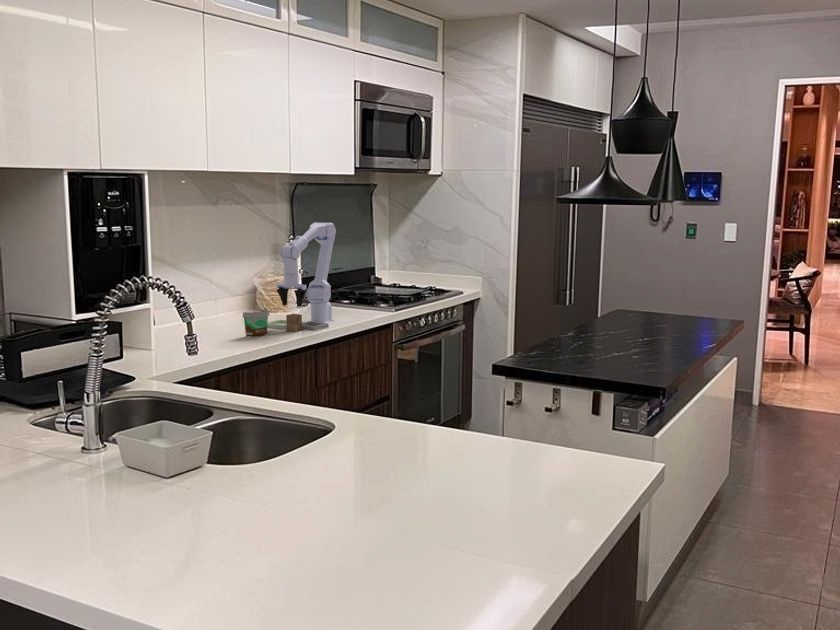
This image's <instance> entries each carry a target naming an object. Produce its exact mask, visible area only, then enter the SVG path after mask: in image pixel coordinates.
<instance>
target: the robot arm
mask: <svg viewBox="0 0 840 630" xmlns="http://www.w3.org/2000/svg"><path fill="white" fill-rule="evenodd" d="M336 233H337V229H336V227H335V224H334V223H332V222H316V221H315V222H313V223H312V224H310V226H309V229H308V230H307V231H305V232H304V234H303V235H296V236H295V238H294V240H292V241H290V242H289V243H288V245H287V244H286V245H283V246H282V247H281V249H280V252H279V255H280V258H281V261H282V263H283V282H278V283H276V292H277V294H278V295H279V297H280V301H281V304H282V306H288V294H289V289H290V290H294V291H293V292H294V295H295V299H296V307H298V308H299V307H302V304H303V299H304V297H306V299H307V300H308V302H309V303H310V320H307V321H306V322H321V323H328V322H334V319H333V309H332V304H331V302H329V301H330V299H331V296H332V292H331V291H332V290H331V288H332V286H331V284H330V283H329V282H328V274H329V270H330V263H331V258H332V253H333V247H334V246H333V245H334V243H335V239H336ZM313 239H314V240H315V241H316V242H317V243H318V244H319V245H320V247H319V253H318V258H317V259H318V260H317V263H316V270H315V275H314V279H313V280H312V281H310V282H309V285H308V288H307V284H302V283H301V284H300V283H299V276H298V271H299V270H298V269H299V268H298V259H299V258H300V255H301V254H302V252H303V251H304V250H305V249H306V248H307V247H308V245H309V242H310V241H312V240H313ZM305 295H306V296H305Z"/></svg>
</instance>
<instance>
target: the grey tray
mask: <svg viewBox="0 0 840 630" xmlns="http://www.w3.org/2000/svg"><path fill="white" fill-rule="evenodd" d="M327 328H329V322H323V323H321V322H307V321H306V322H302V329H303V330H304V331H305V330H307V331H315V332H318V331H319V330H320V331H322V330H323V329H325V330H326V329H327Z"/></svg>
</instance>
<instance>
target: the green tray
mask: <svg viewBox="0 0 840 630" xmlns="http://www.w3.org/2000/svg"><path fill="white" fill-rule="evenodd" d="M268 328H269V329H279V330H280V329H281V330H287V319H282V318H281V319H276V320H271V321H268V323H267V329H268Z"/></svg>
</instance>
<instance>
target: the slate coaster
mask: <svg viewBox="0 0 840 630" xmlns="http://www.w3.org/2000/svg"><path fill="white" fill-rule="evenodd" d="M303 331H304V329H302V330H300V331H287V329H284V332H288V333H289V332H291V333H298V332H303Z"/></svg>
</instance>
